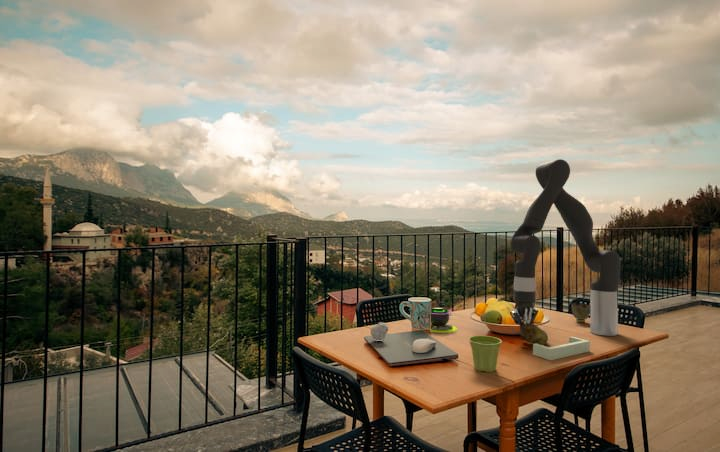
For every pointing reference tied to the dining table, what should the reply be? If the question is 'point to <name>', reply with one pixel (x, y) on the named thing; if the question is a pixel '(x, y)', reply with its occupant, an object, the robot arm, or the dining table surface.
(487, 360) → the plant pot
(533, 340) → the olive green oval lump
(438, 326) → the toy cauldron
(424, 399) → the dining table surface
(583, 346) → the corral
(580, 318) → the cup
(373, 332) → the grey rough lump
